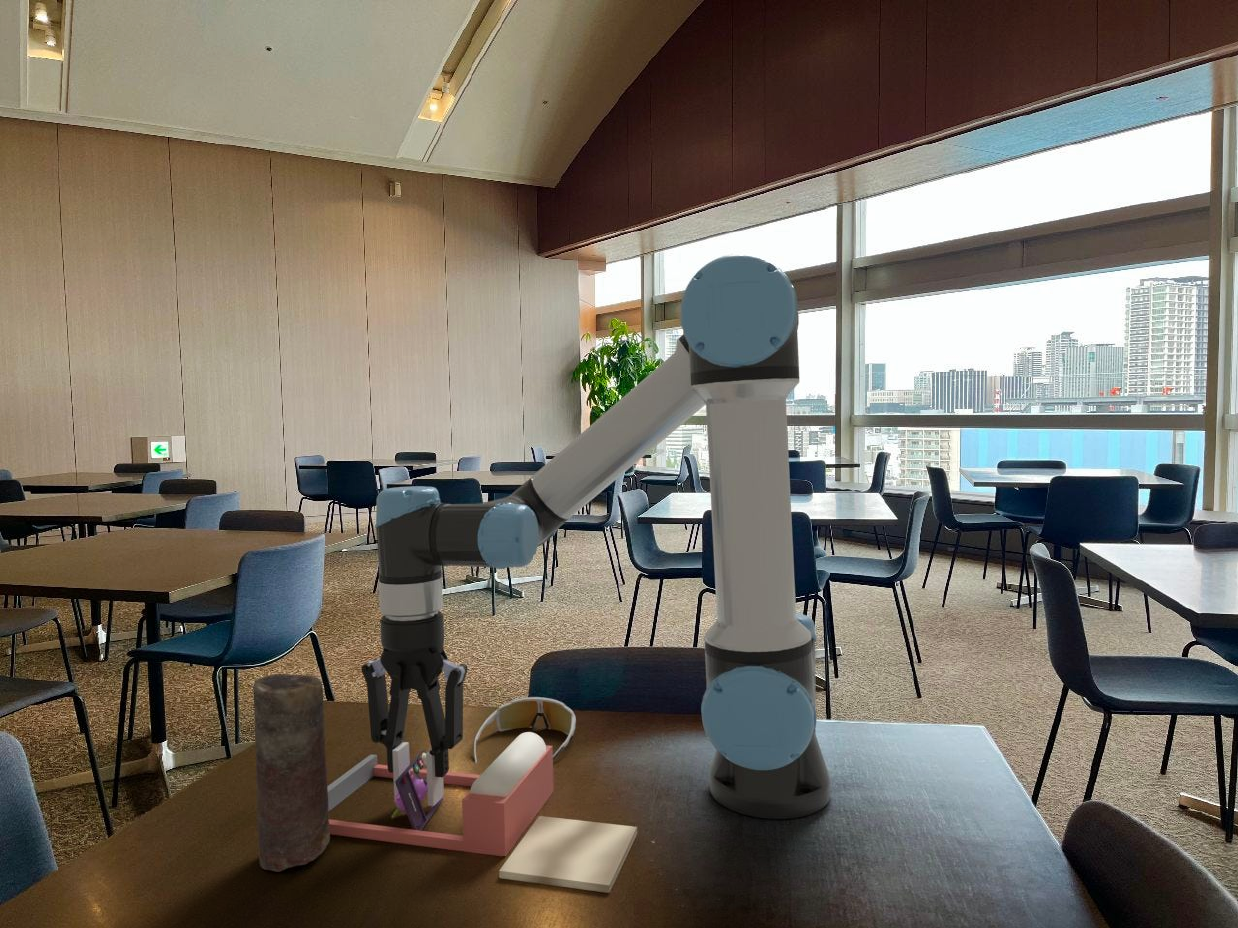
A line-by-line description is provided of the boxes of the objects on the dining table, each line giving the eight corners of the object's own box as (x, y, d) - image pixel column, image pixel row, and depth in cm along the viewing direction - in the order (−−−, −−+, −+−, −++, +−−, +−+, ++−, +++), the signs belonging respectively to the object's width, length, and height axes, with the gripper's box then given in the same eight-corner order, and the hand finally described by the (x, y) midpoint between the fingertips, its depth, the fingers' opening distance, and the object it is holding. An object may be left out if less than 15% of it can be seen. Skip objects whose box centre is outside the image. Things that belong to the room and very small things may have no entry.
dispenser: (553, 791, 105) (552, 729, 104) (505, 856, 89) (503, 783, 89) (371, 772, 111) (369, 713, 111) (297, 829, 96) (294, 762, 96)
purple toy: (403, 778, 94) (429, 747, 103) (363, 792, 94) (393, 759, 103) (424, 832, 94) (448, 796, 103) (383, 845, 94) (411, 808, 103)
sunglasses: (586, 728, 126) (584, 699, 125) (558, 785, 112) (555, 752, 111) (500, 722, 129) (498, 694, 128) (462, 777, 115) (459, 745, 114)
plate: (637, 833, 94) (637, 826, 94) (609, 892, 82) (609, 885, 82) (539, 822, 97) (539, 815, 97) (499, 877, 85) (499, 870, 85)
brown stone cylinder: (278, 837, 94) (271, 668, 93) (341, 837, 94) (334, 668, 93) (246, 874, 87) (237, 691, 85) (314, 874, 86) (306, 690, 85)
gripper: (488, 608, 101) (494, 791, 102) (367, 603, 105) (375, 779, 107) (461, 623, 94) (468, 820, 95) (333, 617, 98) (341, 806, 99)
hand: (419, 798), depth 101 cm, fingers closed on purple toy, 4 cm apart
